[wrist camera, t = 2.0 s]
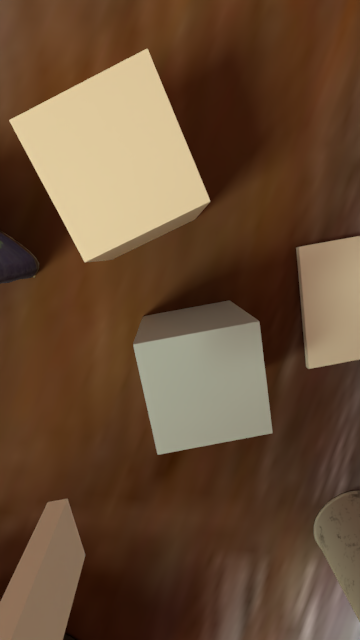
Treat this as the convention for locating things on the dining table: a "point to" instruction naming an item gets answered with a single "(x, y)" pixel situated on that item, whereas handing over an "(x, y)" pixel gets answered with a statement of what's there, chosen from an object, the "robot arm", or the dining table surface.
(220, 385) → the pale sage cube
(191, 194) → the beige rectangular block
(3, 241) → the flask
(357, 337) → the mat
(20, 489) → the dining table surface
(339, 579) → the speckled beige cylinder
